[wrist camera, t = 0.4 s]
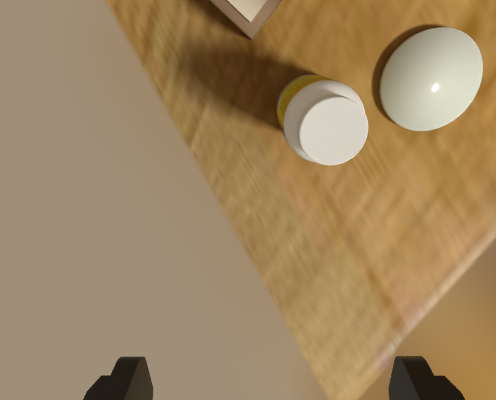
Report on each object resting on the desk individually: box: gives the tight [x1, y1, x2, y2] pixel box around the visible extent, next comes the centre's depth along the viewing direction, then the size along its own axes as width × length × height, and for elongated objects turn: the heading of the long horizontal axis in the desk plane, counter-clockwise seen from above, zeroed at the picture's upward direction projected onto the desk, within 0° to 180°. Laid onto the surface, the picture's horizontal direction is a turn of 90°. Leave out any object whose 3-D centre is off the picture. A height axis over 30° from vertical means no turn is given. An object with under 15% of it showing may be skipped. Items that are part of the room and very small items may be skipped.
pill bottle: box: [276, 74, 368, 165], centre depth 27 cm, size 6×6×11 cm
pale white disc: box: [379, 27, 483, 131], centre depth 30 cm, size 9×9×1 cm
